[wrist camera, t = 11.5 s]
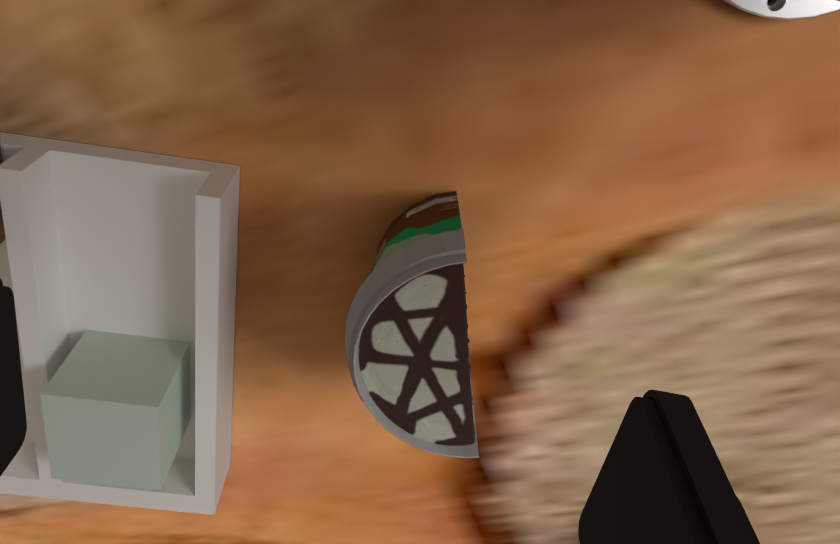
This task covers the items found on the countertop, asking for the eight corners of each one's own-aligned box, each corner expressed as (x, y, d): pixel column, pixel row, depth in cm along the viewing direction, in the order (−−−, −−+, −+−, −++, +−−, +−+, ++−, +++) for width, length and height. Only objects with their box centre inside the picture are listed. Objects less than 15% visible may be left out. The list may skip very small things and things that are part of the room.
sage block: (86, 329, 42) (40, 394, 37) (190, 341, 43) (158, 407, 37) (93, 408, 45) (51, 478, 40) (190, 419, 45) (161, 490, 40)
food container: (342, 175, 39) (321, 261, 30) (454, 165, 39) (466, 249, 30) (369, 358, 45) (358, 474, 36) (467, 350, 45) (479, 465, 36)
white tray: (-147, 111, 37) (-213, 139, 33) (240, 165, 39) (220, 198, 35) (-72, 431, 48) (-116, 481, 44) (230, 464, 49) (214, 514, 45)
